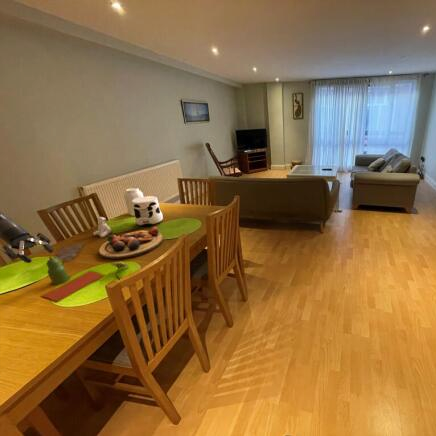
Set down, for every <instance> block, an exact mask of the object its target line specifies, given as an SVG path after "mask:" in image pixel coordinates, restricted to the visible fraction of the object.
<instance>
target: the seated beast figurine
mask: <svg viewBox="0 0 436 436" xmlns="http://www.w3.org/2000/svg"><path fill="white" fill-rule="evenodd" d="M106 222H107V218H106V217H104V216H98V218H97V225H98V226H97V228H98V230H96V231H94V232H92V233H93V234H92V235H93V236H99V237H100V238H101V239H103V238H105V237H106V236H109V234H110V233H111V232H112V228H111V227H110V226H109V225H107V223H106Z"/></svg>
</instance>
